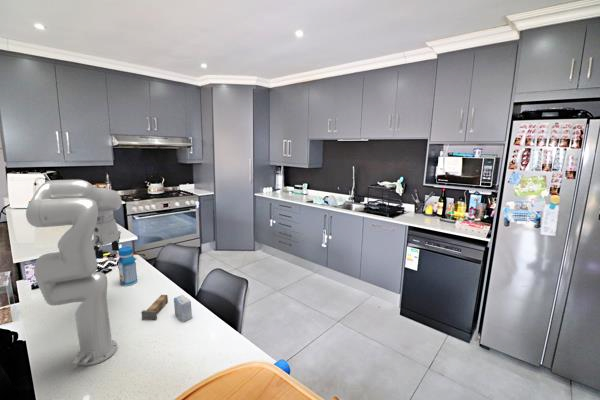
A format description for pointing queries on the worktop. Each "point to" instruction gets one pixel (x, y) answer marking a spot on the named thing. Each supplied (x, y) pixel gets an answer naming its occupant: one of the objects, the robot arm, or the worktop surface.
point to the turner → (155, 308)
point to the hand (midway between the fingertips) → (108, 254)
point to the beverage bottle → (127, 266)
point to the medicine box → (182, 308)
